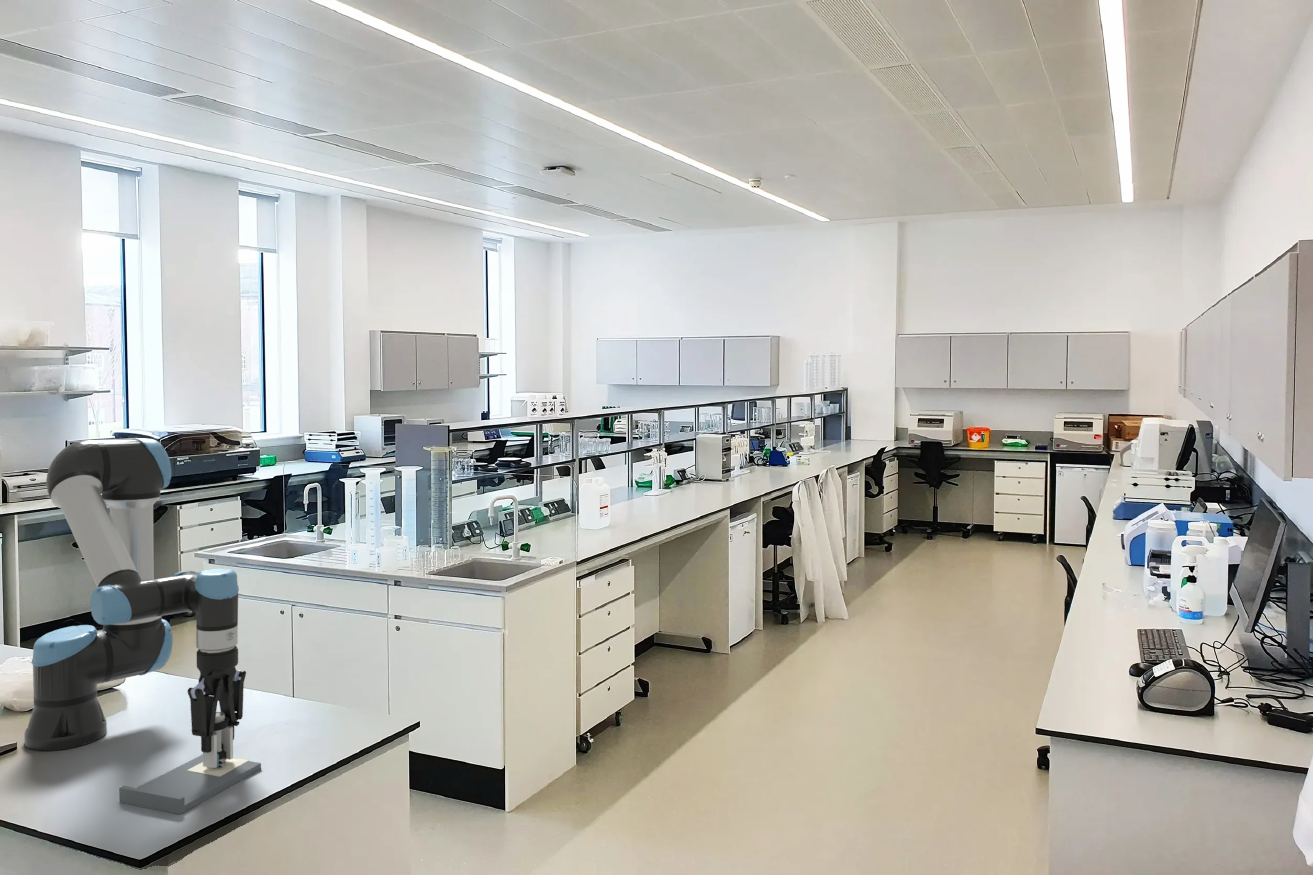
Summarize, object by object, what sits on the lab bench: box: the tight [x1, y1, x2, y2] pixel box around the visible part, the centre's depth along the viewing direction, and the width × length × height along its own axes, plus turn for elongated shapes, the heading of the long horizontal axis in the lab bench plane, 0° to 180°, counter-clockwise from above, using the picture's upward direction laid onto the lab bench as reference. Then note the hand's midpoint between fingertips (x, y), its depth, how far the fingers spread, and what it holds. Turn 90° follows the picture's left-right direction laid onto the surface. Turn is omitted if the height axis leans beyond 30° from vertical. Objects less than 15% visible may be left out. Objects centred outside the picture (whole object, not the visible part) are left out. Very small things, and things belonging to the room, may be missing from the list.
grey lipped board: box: [118, 754, 262, 815], centre depth 180 cm, size 14×21×3 cm, turn 163°
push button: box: [213, 711, 229, 768], centre depth 186 cm, size 7×5×10 cm
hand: (218, 761), depth 186 cm, fingers closed on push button, 4 cm apart
